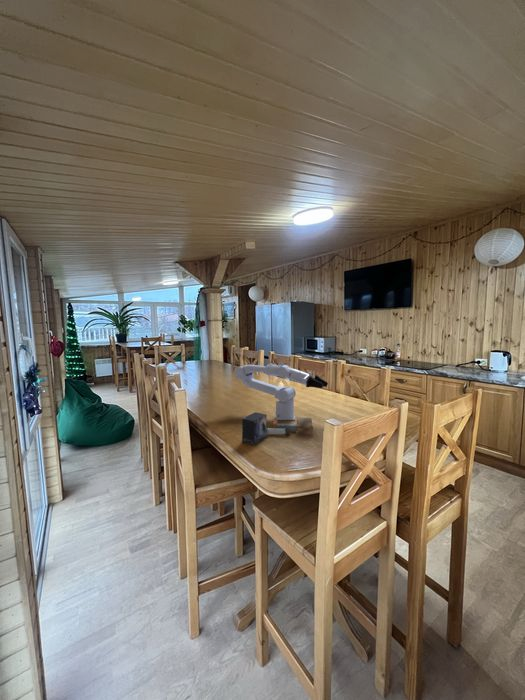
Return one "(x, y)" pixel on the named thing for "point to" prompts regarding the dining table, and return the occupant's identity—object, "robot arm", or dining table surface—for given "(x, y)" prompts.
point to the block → (304, 426)
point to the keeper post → (287, 431)
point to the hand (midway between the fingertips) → (325, 385)
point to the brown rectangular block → (284, 426)
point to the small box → (254, 428)
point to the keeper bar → (275, 431)
